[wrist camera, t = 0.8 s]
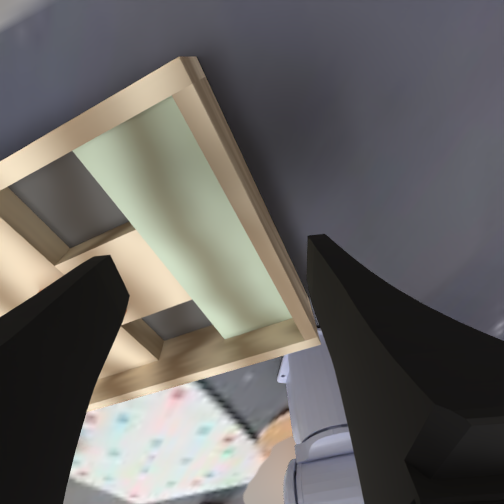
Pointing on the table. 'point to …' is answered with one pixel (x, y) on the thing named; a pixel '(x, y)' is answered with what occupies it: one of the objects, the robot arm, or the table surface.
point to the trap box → (156, 235)
